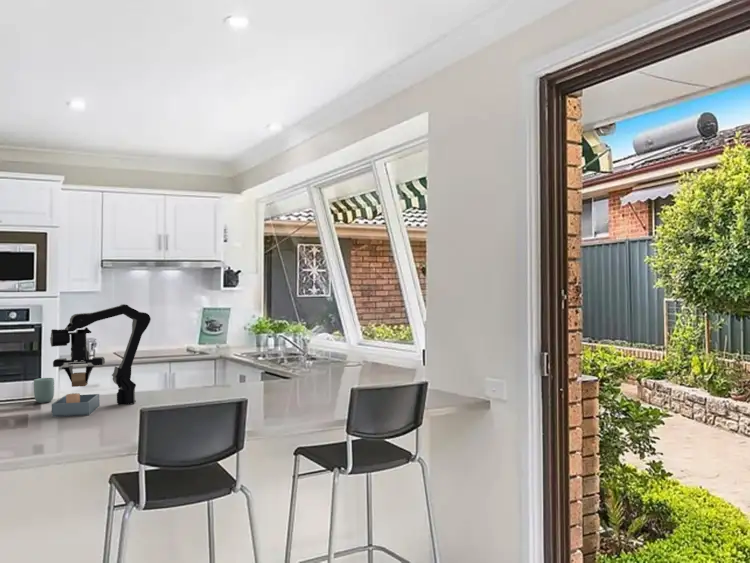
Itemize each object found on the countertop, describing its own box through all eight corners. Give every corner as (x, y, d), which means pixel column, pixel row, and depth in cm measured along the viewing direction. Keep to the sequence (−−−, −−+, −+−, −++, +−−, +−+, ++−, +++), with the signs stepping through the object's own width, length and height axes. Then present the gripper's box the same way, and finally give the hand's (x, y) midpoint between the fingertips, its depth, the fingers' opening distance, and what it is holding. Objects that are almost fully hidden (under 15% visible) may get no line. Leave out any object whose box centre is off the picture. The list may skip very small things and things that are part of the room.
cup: (46, 404, 287) (45, 380, 287) (30, 403, 289) (29, 380, 288) (58, 400, 295) (57, 377, 295) (42, 400, 296) (42, 377, 296)
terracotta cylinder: (78, 413, 263) (78, 395, 263) (64, 413, 262) (64, 395, 262) (81, 410, 268) (81, 393, 268) (68, 411, 267) (67, 393, 267)
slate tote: (99, 405, 281) (99, 393, 281) (88, 415, 262) (88, 402, 262) (65, 407, 278) (64, 395, 278) (51, 417, 259) (51, 404, 259)
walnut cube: (84, 386, 274) (84, 373, 273) (71, 386, 273) (71, 374, 273) (87, 384, 278) (87, 372, 278) (74, 384, 277) (74, 372, 277)
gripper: (107, 342, 285) (107, 379, 285) (59, 343, 281) (60, 381, 282) (101, 344, 274) (102, 383, 274) (52, 346, 271) (53, 385, 271)
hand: (79, 383), depth 275 cm, fingers closed on walnut cube, 5 cm apart
